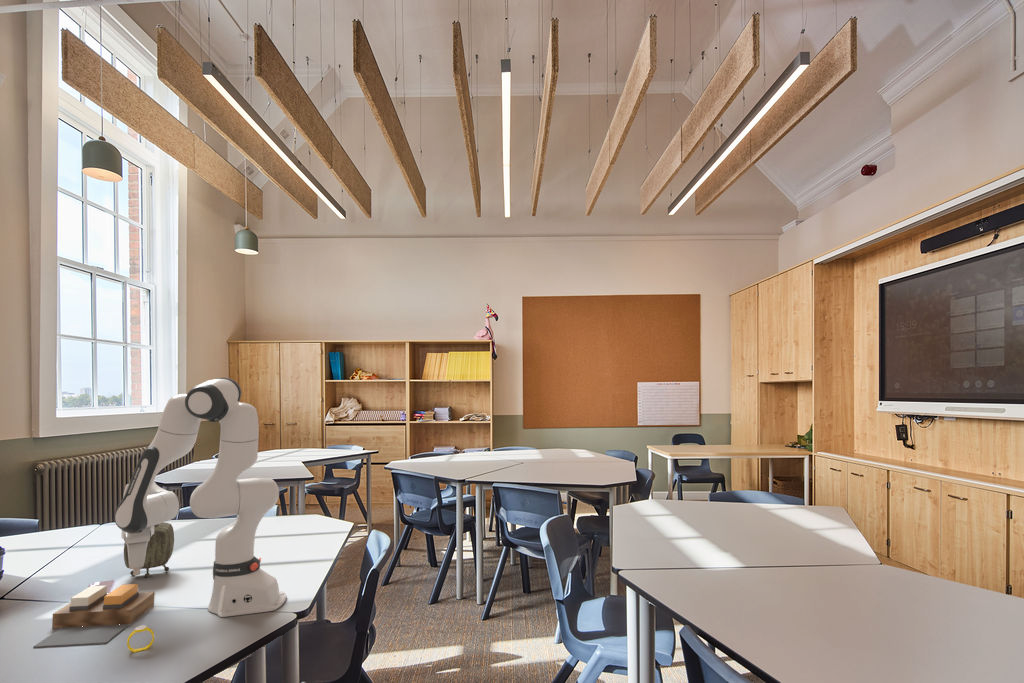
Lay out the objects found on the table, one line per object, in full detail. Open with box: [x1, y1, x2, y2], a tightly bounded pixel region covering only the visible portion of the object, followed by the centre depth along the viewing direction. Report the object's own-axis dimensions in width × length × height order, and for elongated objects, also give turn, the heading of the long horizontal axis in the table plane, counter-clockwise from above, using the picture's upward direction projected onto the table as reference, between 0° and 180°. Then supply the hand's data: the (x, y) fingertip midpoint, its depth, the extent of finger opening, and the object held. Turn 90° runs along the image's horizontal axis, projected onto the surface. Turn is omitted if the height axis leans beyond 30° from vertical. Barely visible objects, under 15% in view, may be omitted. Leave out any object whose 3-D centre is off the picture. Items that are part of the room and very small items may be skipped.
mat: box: [33, 624, 130, 649], centre depth 161 cm, size 18×12×1 cm, turn 97°
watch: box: [126, 624, 155, 654], centre depth 153 cm, size 6×3×6 cm, turn 124°
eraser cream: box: [69, 585, 107, 611], centre depth 174 cm, size 5×10×4 cm, turn 7°
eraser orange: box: [103, 583, 140, 609], centre depth 175 cm, size 5×10×4 cm, turn 7°
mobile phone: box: [87, 580, 116, 594], centre depth 196 cm, size 8×1×15 cm
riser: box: [51, 591, 156, 629], centre depth 174 cm, size 21×14×4 cm, turn 97°
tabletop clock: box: [123, 522, 175, 579], centre depth 210 cm, size 14×9×25 cm, turn 111°
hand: (136, 573), depth 185 cm, fingers closed
